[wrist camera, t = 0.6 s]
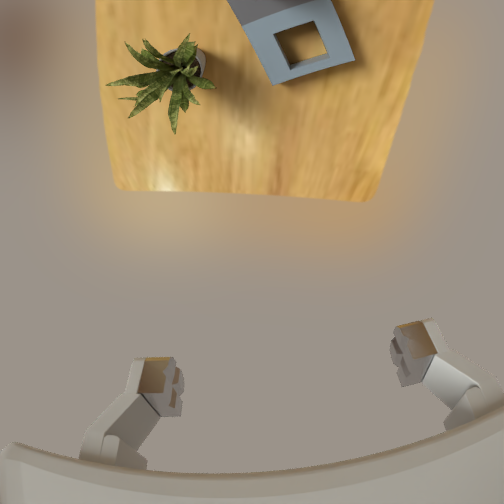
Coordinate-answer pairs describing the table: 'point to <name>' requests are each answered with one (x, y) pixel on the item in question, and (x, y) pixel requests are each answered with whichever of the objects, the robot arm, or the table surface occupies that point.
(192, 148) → the table surface
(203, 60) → the house plant
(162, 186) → the table surface
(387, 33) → the table surface
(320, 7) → the socket panel
